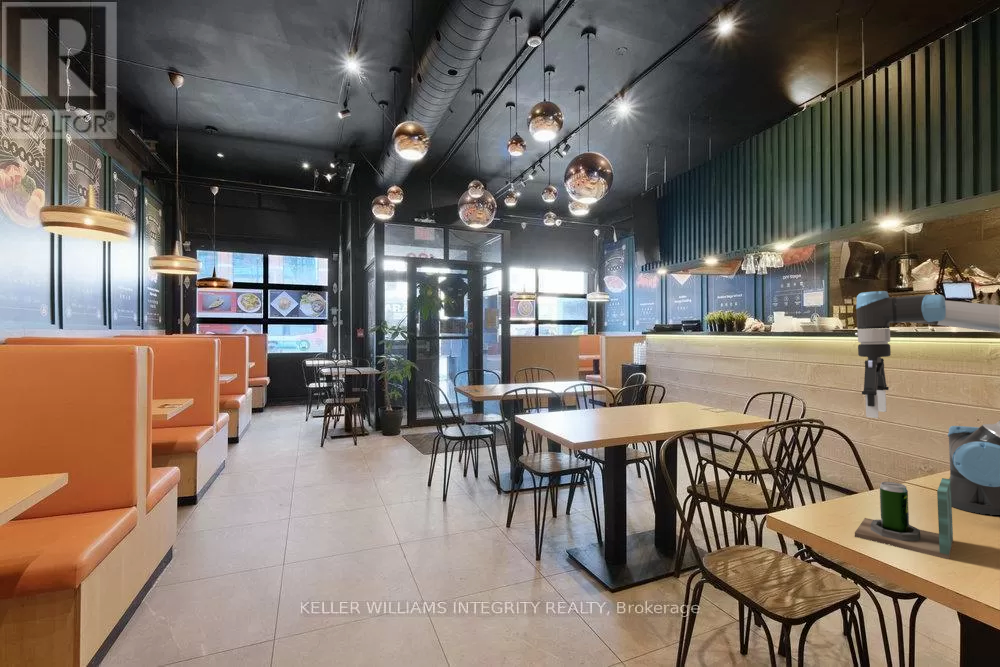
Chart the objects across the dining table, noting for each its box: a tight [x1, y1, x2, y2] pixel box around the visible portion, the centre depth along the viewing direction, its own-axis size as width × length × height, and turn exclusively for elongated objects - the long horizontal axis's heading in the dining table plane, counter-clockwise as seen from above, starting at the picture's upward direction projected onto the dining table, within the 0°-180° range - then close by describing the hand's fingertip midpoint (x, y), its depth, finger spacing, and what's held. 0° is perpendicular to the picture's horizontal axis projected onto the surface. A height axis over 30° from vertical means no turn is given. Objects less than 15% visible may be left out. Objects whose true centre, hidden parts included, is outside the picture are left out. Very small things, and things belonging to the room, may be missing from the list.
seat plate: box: [854, 477, 954, 560], centre depth 113 cm, size 13×17×15 cm
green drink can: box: [879, 481, 910, 533], centre depth 114 cm, size 5×5×12 cm
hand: (876, 414), depth 136 cm, fingers open, 13 cm apart
